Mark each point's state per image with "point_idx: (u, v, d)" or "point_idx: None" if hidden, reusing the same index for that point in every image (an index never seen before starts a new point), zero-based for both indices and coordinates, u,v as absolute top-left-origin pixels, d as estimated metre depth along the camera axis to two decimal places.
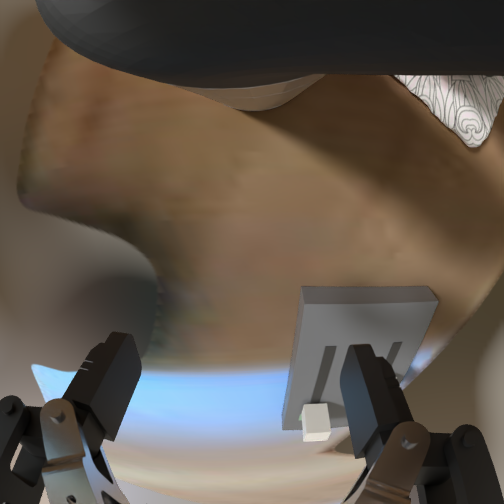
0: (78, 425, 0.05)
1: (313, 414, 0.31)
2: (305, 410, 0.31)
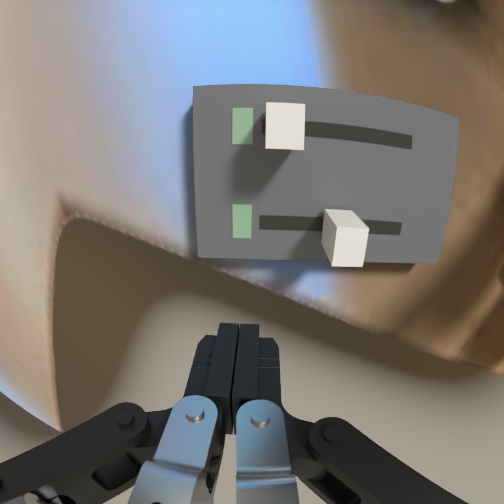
0: (213, 434, 0.06)
1: None
2: None
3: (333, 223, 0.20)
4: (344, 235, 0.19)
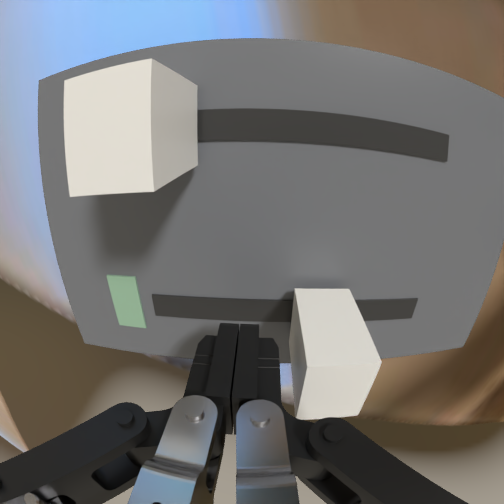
0: (213, 434, 0.06)
1: (185, 111, 0.08)
2: (190, 84, 0.08)
3: (303, 346, 0.09)
4: (324, 379, 0.08)
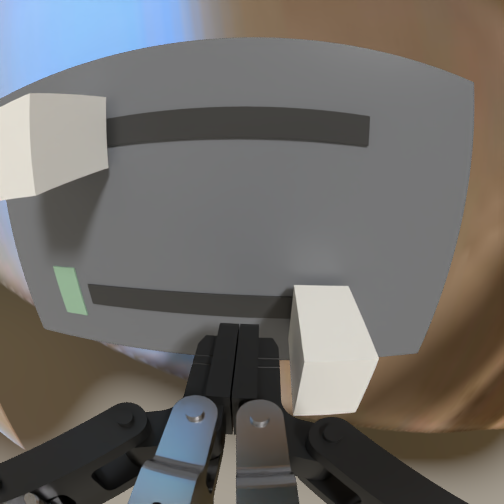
0: (213, 434, 0.06)
1: (84, 123, 0.08)
2: (92, 98, 0.08)
3: (301, 341, 0.09)
4: (321, 374, 0.08)
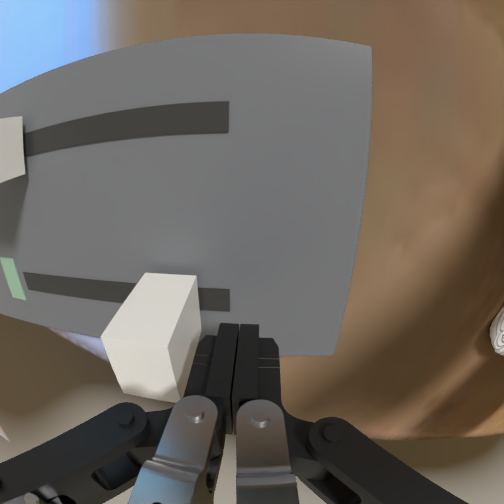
0: (213, 434, 0.06)
1: (0, 141, 0.08)
2: (8, 119, 0.08)
3: None
4: (121, 352, 0.08)
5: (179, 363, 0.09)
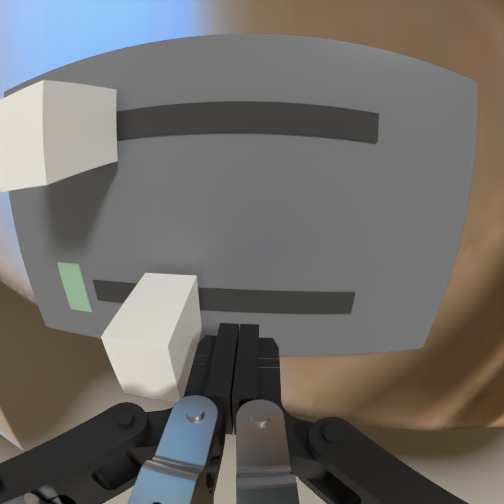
0: (213, 434, 0.06)
1: (95, 114, 0.08)
2: (103, 90, 0.08)
3: None
4: (121, 352, 0.08)
5: (179, 363, 0.09)
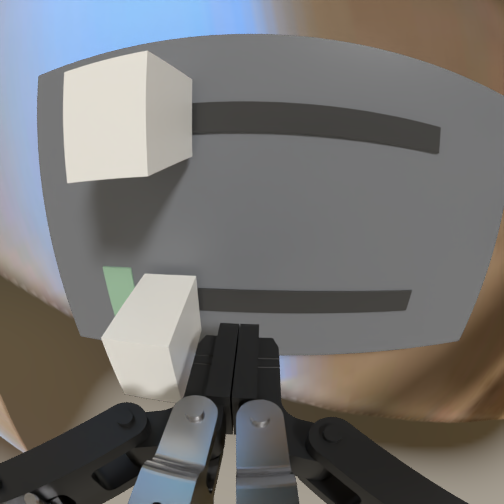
0: (213, 434, 0.06)
1: (180, 103, 0.08)
2: (185, 78, 0.08)
3: None
4: (121, 353, 0.08)
5: (180, 363, 0.09)
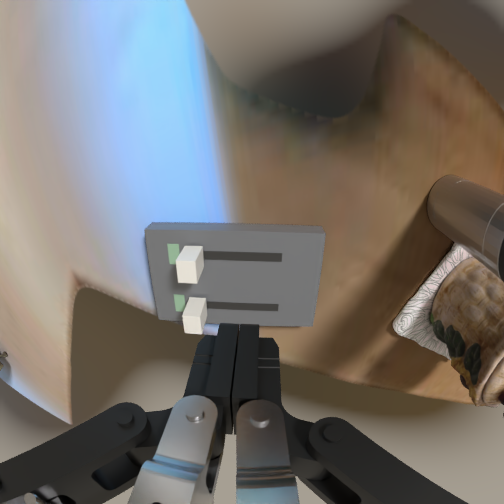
0: (213, 434, 0.06)
1: (200, 259, 0.36)
2: (201, 250, 0.36)
3: (184, 311, 0.37)
4: (187, 319, 0.37)
5: (201, 322, 0.38)
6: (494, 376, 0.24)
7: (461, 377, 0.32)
